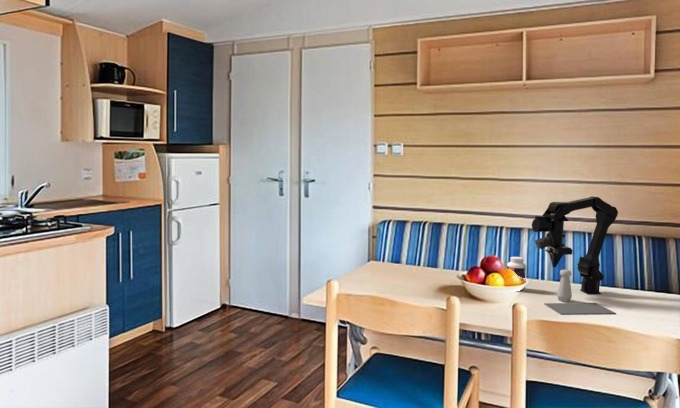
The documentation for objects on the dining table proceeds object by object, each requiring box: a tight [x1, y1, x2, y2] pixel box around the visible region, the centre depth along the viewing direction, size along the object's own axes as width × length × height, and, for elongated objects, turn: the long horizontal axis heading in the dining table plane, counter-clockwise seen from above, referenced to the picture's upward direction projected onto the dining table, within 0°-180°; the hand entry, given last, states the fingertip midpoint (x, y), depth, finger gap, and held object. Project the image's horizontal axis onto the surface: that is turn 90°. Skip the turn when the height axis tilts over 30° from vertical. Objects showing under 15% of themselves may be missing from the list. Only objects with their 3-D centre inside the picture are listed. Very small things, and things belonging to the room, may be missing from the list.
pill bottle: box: [506, 256, 527, 291], centre depth 245 cm, size 8×8×14 cm
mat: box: [543, 302, 617, 316], centre depth 216 cm, size 22×14×1 cm, turn 95°
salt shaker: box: [556, 269, 573, 303], centre depth 228 cm, size 6×6×13 cm
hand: (554, 267), depth 237 cm, fingers closed
